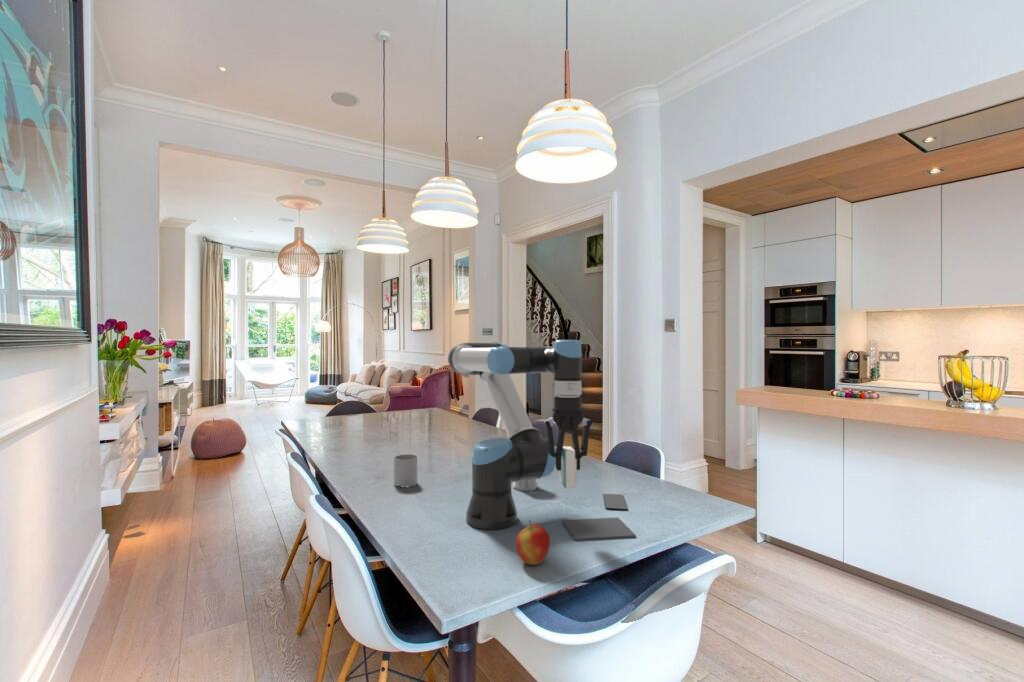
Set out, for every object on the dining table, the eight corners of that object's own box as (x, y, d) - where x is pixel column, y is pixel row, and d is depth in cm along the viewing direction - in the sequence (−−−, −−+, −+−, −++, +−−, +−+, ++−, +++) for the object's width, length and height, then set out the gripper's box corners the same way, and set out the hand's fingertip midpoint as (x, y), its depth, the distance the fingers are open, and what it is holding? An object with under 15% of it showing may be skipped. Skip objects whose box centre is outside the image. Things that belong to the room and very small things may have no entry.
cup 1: (411, 488, 169) (412, 460, 169) (390, 486, 170) (390, 459, 170) (420, 481, 177) (420, 454, 177) (399, 480, 179) (399, 453, 179)
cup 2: (505, 486, 172) (505, 453, 172) (523, 481, 178) (523, 449, 178) (524, 493, 164) (525, 458, 164) (543, 487, 170) (543, 454, 170)
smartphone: (623, 494, 162) (627, 509, 148) (623, 497, 162) (627, 512, 148) (602, 493, 163) (605, 507, 148) (602, 495, 163) (605, 510, 148)
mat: (575, 540, 125) (575, 538, 125) (562, 522, 138) (562, 520, 138) (635, 537, 128) (635, 535, 128) (617, 519, 140) (618, 517, 140)
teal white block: (565, 488, 125) (565, 450, 126) (561, 482, 131) (560, 446, 131) (575, 487, 126) (574, 450, 126) (570, 482, 131) (570, 446, 131)
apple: (543, 573, 107) (544, 529, 107) (510, 566, 110) (511, 524, 110) (553, 558, 115) (554, 517, 115) (522, 552, 118) (523, 512, 118)
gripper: (541, 397, 124) (541, 486, 124) (599, 397, 126) (600, 485, 125) (537, 394, 132) (537, 478, 131) (592, 394, 133) (592, 477, 133)
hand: (567, 481), depth 128 cm, fingers closed on teal white block, 3 cm apart
